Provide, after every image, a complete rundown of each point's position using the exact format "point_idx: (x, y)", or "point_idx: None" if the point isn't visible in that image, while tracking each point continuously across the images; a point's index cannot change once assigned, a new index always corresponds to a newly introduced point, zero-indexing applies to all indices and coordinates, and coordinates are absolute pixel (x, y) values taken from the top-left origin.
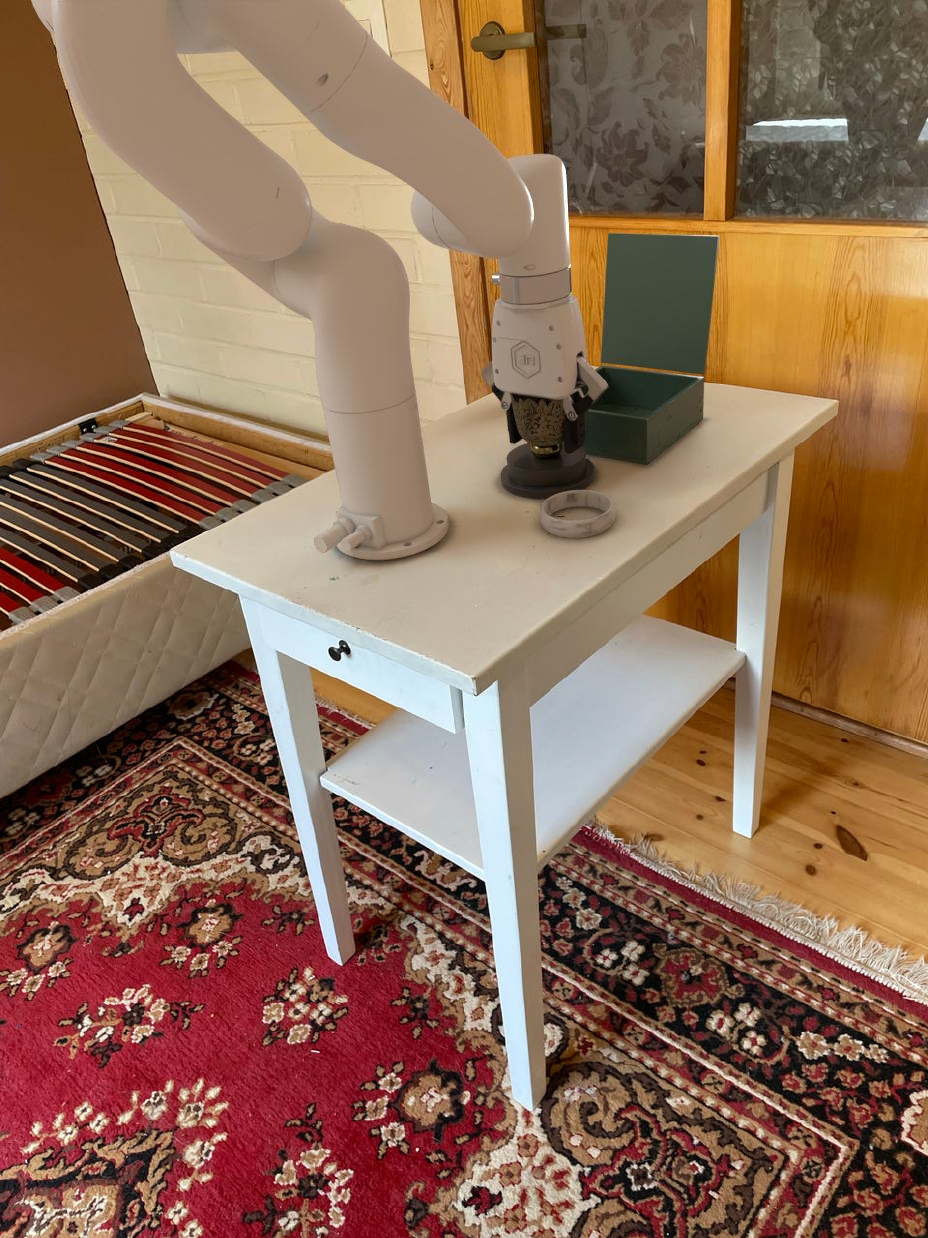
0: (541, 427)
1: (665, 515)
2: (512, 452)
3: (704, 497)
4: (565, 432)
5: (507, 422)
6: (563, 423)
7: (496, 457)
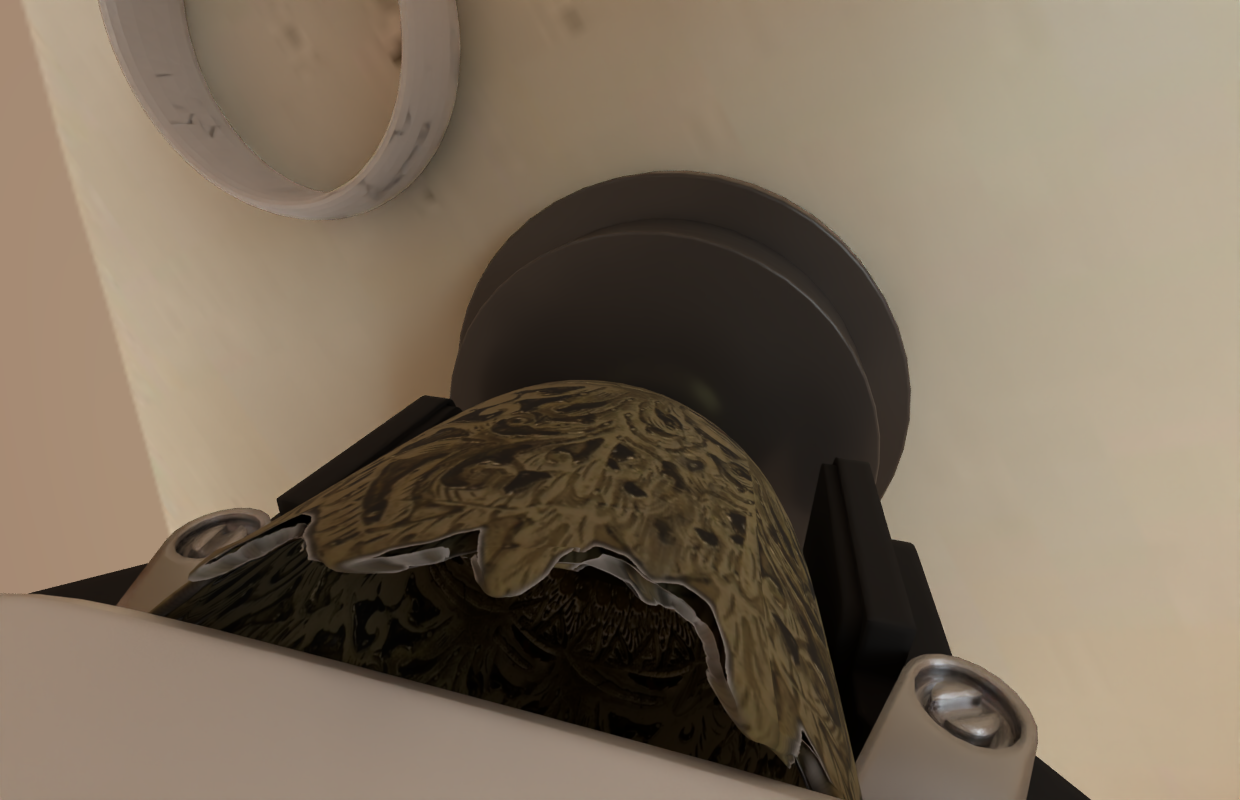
0: (460, 416)
1: (128, 237)
2: (856, 443)
3: (136, 397)
4: (364, 455)
5: (927, 591)
6: None
7: (1037, 551)
